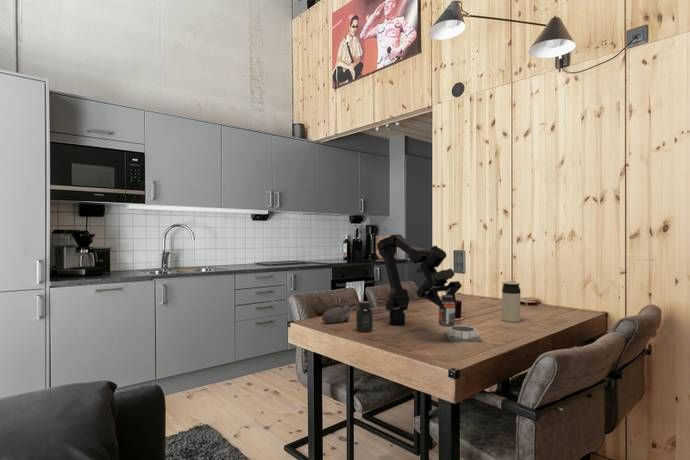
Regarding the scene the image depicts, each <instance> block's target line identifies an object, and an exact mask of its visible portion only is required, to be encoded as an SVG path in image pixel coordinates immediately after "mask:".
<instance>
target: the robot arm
mask: <svg viewBox="0 0 690 460" xmlns="http://www.w3.org/2000/svg"><path fill="white" fill-rule="evenodd" d="M376 248H377V251H378V254H379V256H380V257H381V258H382V259H383V261H384V266H385V269H386V272H387V273H386V274H387V278H388V283H389V286H390V287H389V288H390V291H389V294H388V300H387V302H386V303H385V305H384V306H385V311H389V320H388V325H390V326H392V325H393V326H404V325H405V323H406V313H405V312H404V311H407V310H408V307H409V303H410V296H409V293H408V289H406V288H405V289H404V287H403V286H402V283H401V278H400V273H399V270H398V267H397V262H396V257H395V256H396V253H397V248H399V249H400V250H401V251H403V252H404V253H405V254H407V256H408V257H407V258H408V259H409V260H410V262H412V264H414V265H415V264H417V265H418V264H420V265H419V266H417V269H416V273H417V274H421V275H422V276H423V278H424V280H423V283H421V284H420V285H419V287H418V288H417V290H416V295H417V297H418V298H421V299H422V298H424V299H425V300H428V301H430V302H432V304H435V306H438V308H439V307H440V308H442V309H443V308H444V305H443V303H442V301H441V300H442V298H441V297H440V296H439V294H438V293H439V292H440V293H441V292H444V293H445V295H451V296H453V301H454V302H455V308H456V307H457V306H458V304H457V298H456V293H457V292H458V291H459V290H460V289H461V288H462V284H461V282H460V281H459V280H456V281H455V280H454V281H450V282H449V283H448V280H450V279H453V277H455V275H456V274H455V271H454V270H453V269H452V268H447V269H442V270H439V271H438V270H437V268H439V267H440V265H441V264H442V263H443V262H444V260H445V259H446V258H447V253H446V251H444V250H443V249H442V248H439V247H438V245H432V246H431V249H430V250H428V249H426V248H424V247H419V246H416V245H414V244H413V243H412V242H410V241H409V240H407V239H406V238H404V237H403V236H402V235H401V234H391V235H390V236H388V237H385V238H383V239H380V240H379V241H378V242H377V245H376ZM447 283H448V284H447ZM445 284H447V285H445Z"/></svg>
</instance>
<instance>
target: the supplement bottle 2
mask: <svg viewBox="0 0 690 460" xmlns="http://www.w3.org/2000/svg"><path fill="white" fill-rule="evenodd" d="M441 301H442V303H443V305H444V308H443V309H442V308H440V307H439V306H438V324H439V326H441V327H447V328H448V327H452V326H455V325H456V307H455V302H454V301H453V296H451V295H446V294H442V295H441Z"/></svg>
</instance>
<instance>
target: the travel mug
mask: <svg viewBox="0 0 690 460" xmlns="http://www.w3.org/2000/svg"><path fill="white" fill-rule="evenodd" d="M502 284H503V286H502V288H501V291H502V292H501V310H502V311H501V319H502V320H503V322H508V323H519V322H520V321H521V288H520V284H521V283H520V282H519V281H511V280H510V281H509V280H506V281H505V280H504V281H503V282H502Z"/></svg>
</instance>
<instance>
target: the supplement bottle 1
mask: <svg viewBox="0 0 690 460" xmlns="http://www.w3.org/2000/svg"><path fill="white" fill-rule="evenodd" d="M355 312H356V313H355V314H356V316H355V317H356V323H355V324H356V326H355V327H356V328H355V329H356V331H357V332H359V333H370V332H372V331H373V325H374V324H373V323H374V322H373V321H374V319H373V318H374V317H373V313H374V312H373V309H372V308H371V301H368V300H367V301H365V300H361V301H359V302H358V308H357V309H356V311H355Z"/></svg>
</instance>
